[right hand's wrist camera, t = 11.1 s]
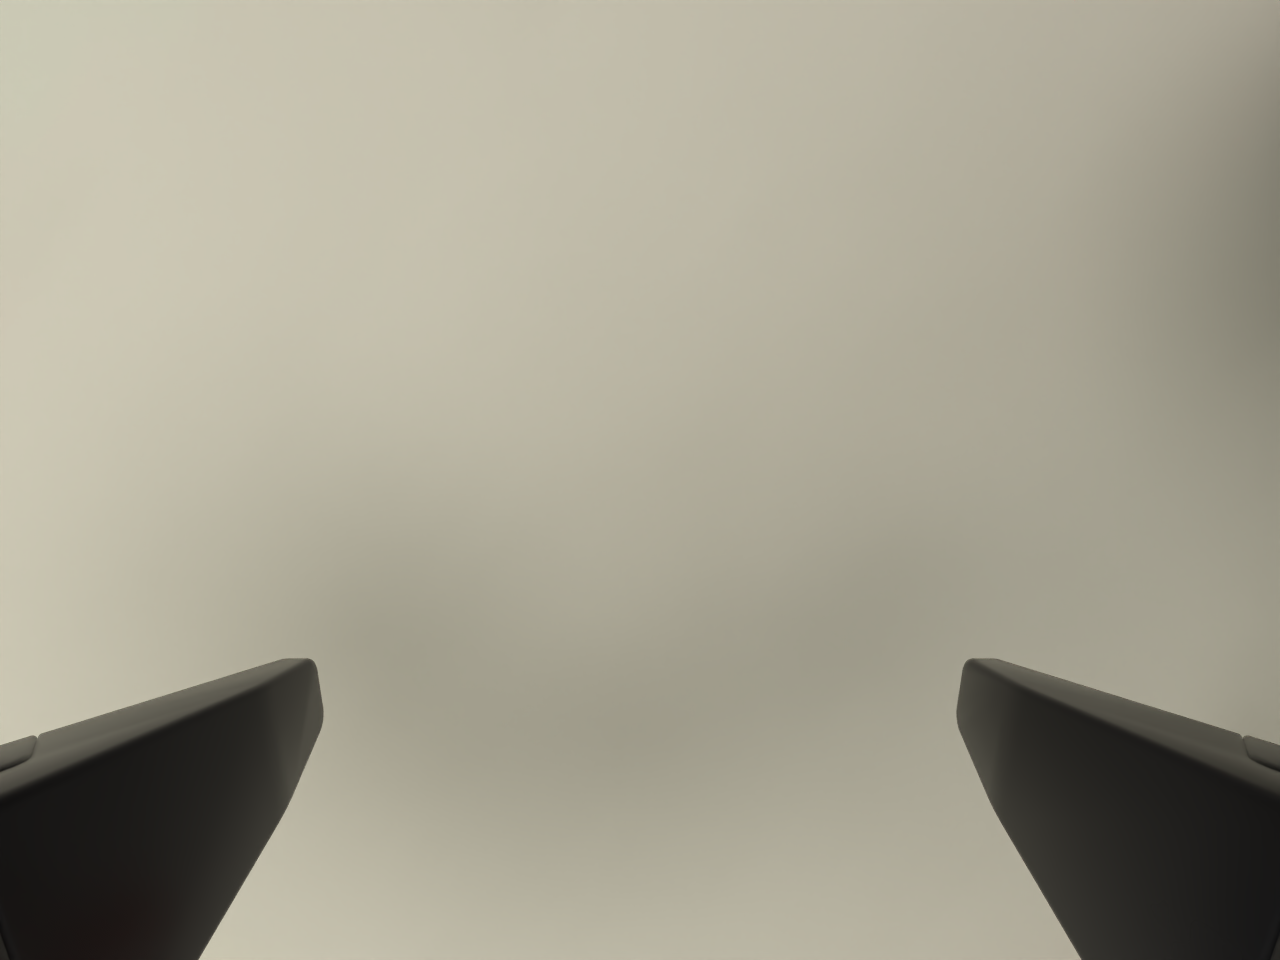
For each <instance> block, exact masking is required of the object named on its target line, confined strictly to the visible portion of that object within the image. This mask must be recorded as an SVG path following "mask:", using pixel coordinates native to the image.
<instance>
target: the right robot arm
mask: <svg viewBox="0 0 1280 960" xmlns="http://www.w3.org/2000/svg"><path fill="white" fill-rule="evenodd" d="M322 723H323V704H322V697H321V691H320V684H319V678H318V672H317V667H316V665H315V663H314V661H313V660H311V659H308V658H288V659H281V660H278V661H275V662H271V663H268V664H265V665H262V666H258V667H255V668H252V669H249V670H246V671H242V672H239V673H236V674H233V675H229V676H226V677H223V678H220V679H216V680H213V681H210V682H207V683H204V684H200V685H197V686H194V687H191V688H187V689H184V690H181V691H178V692H174V693H171V694H168V695H165V696H162V697H158V698H155V699H152V700H149V701H145V702H142V703H139V704H136V705H133V706H129V707H126V708H123V709H120V710H116V711H113V712H110V713H107V714H103V715H100V716H97V717H94V718H91V719H87V720H84V721H81V722H78V723H74V724H71V725H68V726H65V727H62V728H58V729H55V730H52V731H49V732H45V733H42V734H40V735H39V736H38V739H37V737H36V736H29V737H26V738H22V739H19V740H16V741H13V742H9V743H6V744H3V745H0V960H199V958H200V956H201V954H202V953H203V951H204V949H205V948H206V946H207V944H208V943H209V941H210V939H211V937H212V936H213V934H214V932H215V931H216V929H217V927H218V925H219V924H220V922H221V920H222V919H223V917H224V915H225V914H226V912H227V910H228V908H229V907H230V905H231V903H232V902H233V900H234V898H235V896H236V895H237V893H238V891H239V890H240V888H241V886H242V885H243V883H244V881H245V879H246V878H247V876H248V874H249V873H250V871H251V869H252V868H253V866H254V864H255V862H256V861H257V859H258V857H259V856H260V854H261V852H262V850H263V849H264V847H265V845H266V844H267V842H268V840H269V839H270V837H271V835H272V833H273V832H274V830H275V828H276V827H277V825H278V823H279V821H280V820H281V818H282V816H283V814H284V812H285V810H286V809H287V806H288V804H289V802H290V800H291V798H292V796H293V793H294V791H295V789H296V786H297V784H298V782H299V779H300V777H301V775H302V772H303V770H304V768H305V765H306V763H307V761H308V758H309V756H310V754H311V751H312V749H313V747H314V744H315V742H316V740H317V737H318V735H319V733H320V730H321V727H322ZM957 723H958V727H959V730H960V733H961V735H962V738H963V740H964V742H965V745H966V747H967V749H968V752H969V754H970V756H971V759H972V761H973V763H974V766H975V768H976V770H977V773H978V775H979V777H980V780H981V782H982V784H983V787H984V789H985V791H986V794H987V796H988V798H989V800H990V802H991V804H992V806H993V809H994V810H995V812H996V814H997V816H998V818H999V820H1000V821H1001V823H1002V825H1003V827H1004V828H1005V830H1006V832H1007V833H1008V835H1009V837H1010V839H1011V840H1012V842H1013V844H1014V845H1015V847H1016V849H1017V850H1018V852H1019V854H1020V856H1021V857H1022V859H1023V861H1024V862H1025V864H1026V866H1027V868H1028V869H1029V871H1030V873H1031V874H1032V876H1033V878H1034V879H1035V881H1036V883H1037V885H1038V886H1039V888H1040V890H1041V891H1042V893H1043V895H1044V897H1045V898H1046V900H1047V902H1048V903H1049V905H1050V907H1051V908H1052V910H1053V912H1054V914H1055V915H1056V917H1057V919H1058V920H1059V922H1060V924H1061V926H1062V927H1063V929H1064V931H1065V932H1066V934H1067V936H1068V937H1069V939H1070V941H1071V943H1072V944H1073V946H1074V948H1075V949H1076V951H1077V953H1078V954H1079V956H1080V958H1081V960H1280V745H1277V744H1274V743H1271V742H1267V741H1264V740H1261V739H1258V738H1254V737H1251V736H1244V737H1243V739H1242V736H1241V735H1240V734H1238V733H1235V732H1231V731H1228V730H1225V729H1222V728H1218V727H1215V726H1212V725H1209V724H1206V723H1202V722H1199V721H1196V720H1193V719H1189V718H1186V717H1183V716H1180V715H1177V714H1173V713H1170V712H1167V711H1164V710H1160V709H1157V708H1154V707H1151V706H1147V705H1144V704H1141V703H1138V702H1135V701H1131V700H1128V699H1125V698H1122V697H1118V696H1115V695H1112V694H1109V693H1105V692H1102V691H1099V690H1096V689H1093V688H1089V687H1086V686H1083V685H1080V684H1076V683H1073V682H1070V681H1067V680H1064V679H1060V678H1057V677H1054V676H1051V675H1047V674H1044V673H1041V672H1038V671H1034V670H1031V669H1028V668H1025V667H1022V666H1018V665H1015V664H1012V663H1009V662H1005V661H1002V660H999V659H992V658H972V659H969V660H967V661H966V663H965V665H964V667H963V671H962V678H961V684H960V691H959V697H958V704H957Z"/></svg>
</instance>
